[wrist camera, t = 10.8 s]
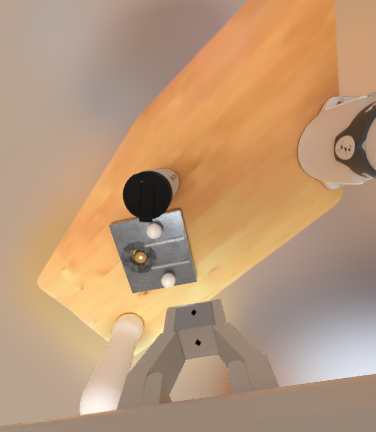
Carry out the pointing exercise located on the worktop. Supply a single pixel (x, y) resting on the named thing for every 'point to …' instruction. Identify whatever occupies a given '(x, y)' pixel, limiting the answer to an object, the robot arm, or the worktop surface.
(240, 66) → the worktop surface
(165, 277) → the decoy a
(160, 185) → the travel mug
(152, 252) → the plate
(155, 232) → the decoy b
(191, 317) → the robot arm
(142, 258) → the brass ball
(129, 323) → the bottle
